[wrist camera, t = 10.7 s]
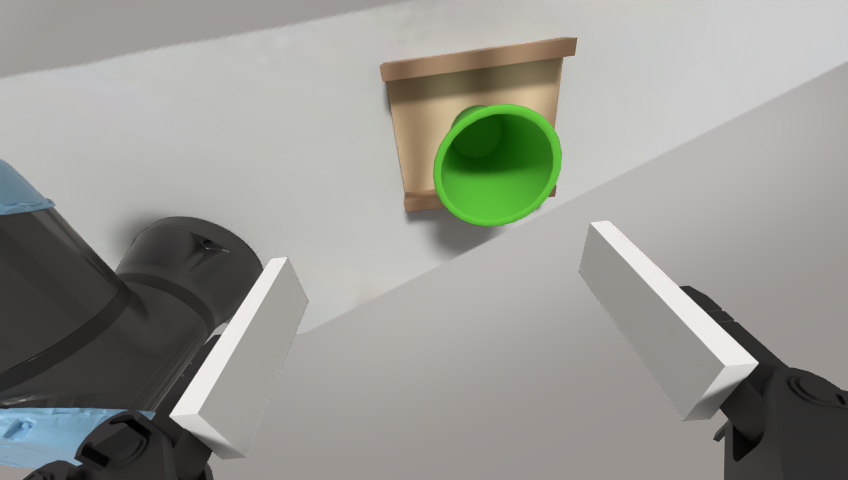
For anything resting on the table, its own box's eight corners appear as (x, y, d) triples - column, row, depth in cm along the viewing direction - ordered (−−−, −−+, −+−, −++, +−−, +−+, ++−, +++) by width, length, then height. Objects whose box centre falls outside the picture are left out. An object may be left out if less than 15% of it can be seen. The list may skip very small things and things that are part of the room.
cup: (526, 160, 32) (566, 210, 23) (444, 184, 33) (451, 239, 24) (514, 67, 27) (559, 84, 18) (419, 100, 29) (416, 131, 20)
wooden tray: (407, 198, 35) (405, 211, 33) (384, 62, 28) (379, 65, 25) (545, 184, 34) (555, 196, 32) (561, 37, 26) (577, 37, 24)
